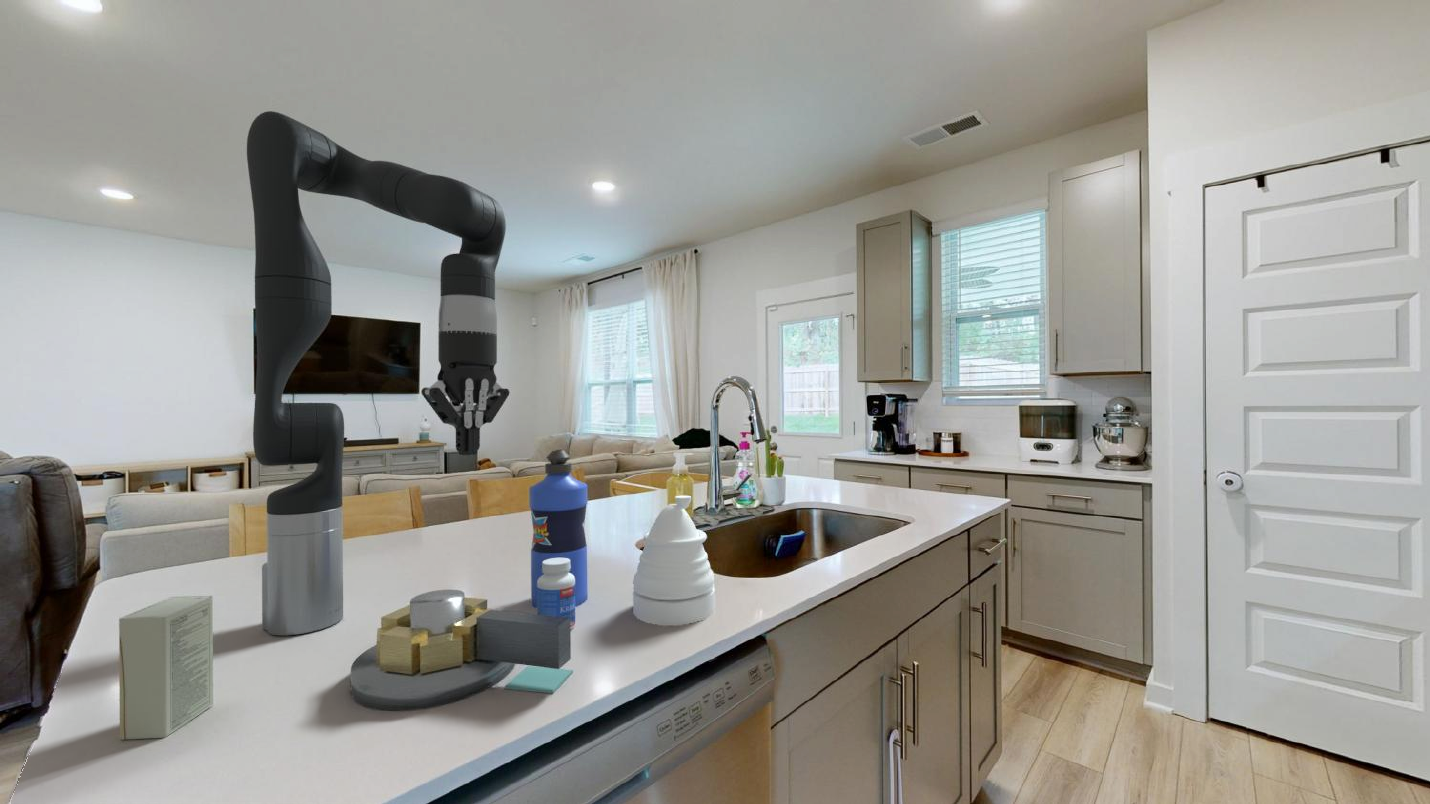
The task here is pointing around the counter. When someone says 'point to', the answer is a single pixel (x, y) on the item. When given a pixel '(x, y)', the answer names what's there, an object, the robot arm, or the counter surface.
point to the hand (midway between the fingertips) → (468, 454)
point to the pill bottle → (556, 590)
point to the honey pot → (674, 571)
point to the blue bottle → (559, 523)
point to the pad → (539, 679)
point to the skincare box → (165, 666)
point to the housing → (430, 687)
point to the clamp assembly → (474, 640)
